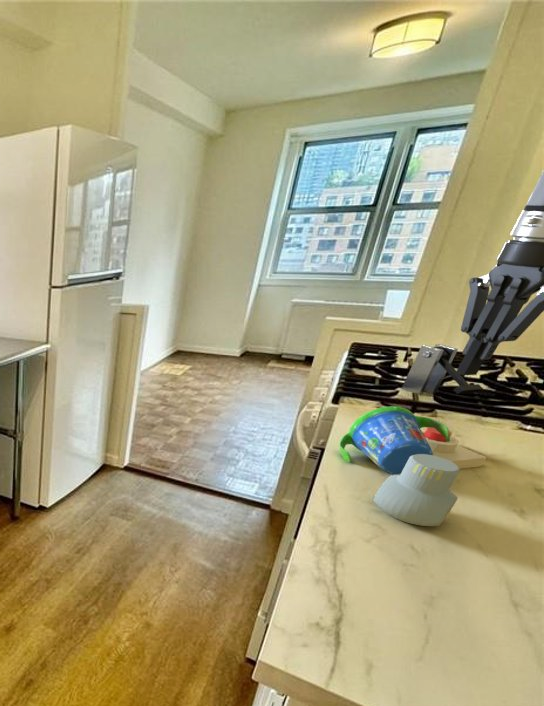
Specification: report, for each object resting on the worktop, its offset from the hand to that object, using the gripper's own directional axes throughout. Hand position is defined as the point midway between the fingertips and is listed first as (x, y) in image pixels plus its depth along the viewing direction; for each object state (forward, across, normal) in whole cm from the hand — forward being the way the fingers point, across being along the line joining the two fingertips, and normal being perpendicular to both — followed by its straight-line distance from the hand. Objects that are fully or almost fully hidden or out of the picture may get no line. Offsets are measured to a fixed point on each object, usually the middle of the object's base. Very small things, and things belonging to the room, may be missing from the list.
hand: (465, 373), depth 92 cm
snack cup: (+12, +10, -18) cm, 24 cm away
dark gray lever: (+8, -20, +24) cm, 32 cm away
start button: (+12, +3, -3) cm, 13 cm away
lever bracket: (+16, -24, +24) cm, 37 cm away
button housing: (+16, +3, -3) cm, 17 cm away
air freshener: (+16, +20, -26) cm, 37 cm away
